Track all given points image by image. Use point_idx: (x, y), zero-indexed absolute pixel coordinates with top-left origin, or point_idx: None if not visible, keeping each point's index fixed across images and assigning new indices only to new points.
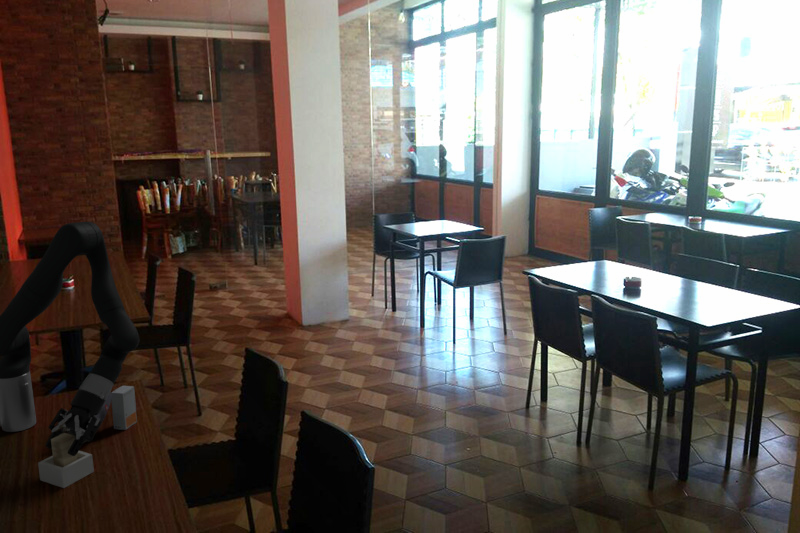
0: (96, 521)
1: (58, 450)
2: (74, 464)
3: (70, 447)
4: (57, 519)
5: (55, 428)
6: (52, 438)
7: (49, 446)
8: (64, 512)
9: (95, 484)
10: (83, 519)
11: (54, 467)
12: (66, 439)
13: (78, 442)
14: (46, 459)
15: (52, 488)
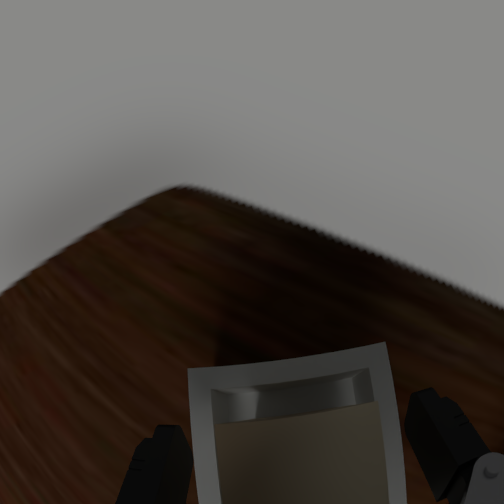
0: (8, 304)
1: (280, 417)
2: (194, 446)
3: (163, 452)
4: (83, 261)
5: (491, 488)
6: (380, 418)
7: (411, 410)
8: (89, 289)
9: (130, 451)
10: (32, 294)
11: (252, 367)
12: (226, 483)
13: (120, 498)
14: (384, 387)
15: (253, 357)
